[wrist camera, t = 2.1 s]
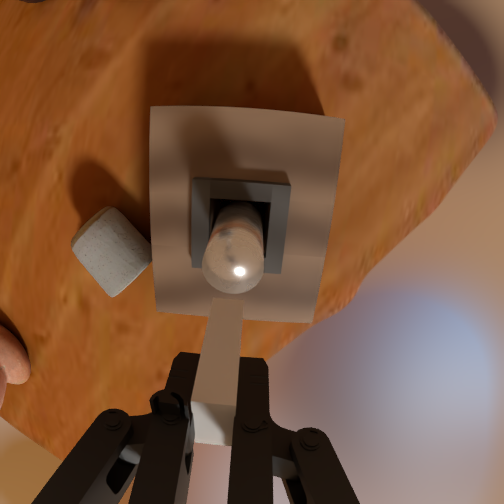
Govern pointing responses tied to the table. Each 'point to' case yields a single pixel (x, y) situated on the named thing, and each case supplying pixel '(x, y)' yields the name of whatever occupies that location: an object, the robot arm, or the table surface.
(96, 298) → the table surface
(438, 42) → the table surface
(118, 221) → the ceramic mug
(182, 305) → the socket block
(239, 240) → the peg
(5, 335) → the ceramic jug
